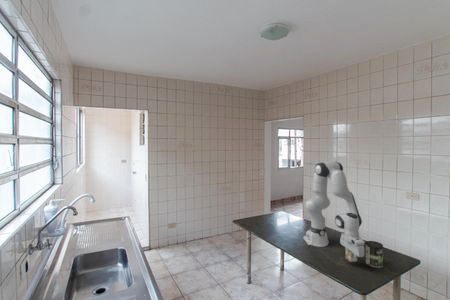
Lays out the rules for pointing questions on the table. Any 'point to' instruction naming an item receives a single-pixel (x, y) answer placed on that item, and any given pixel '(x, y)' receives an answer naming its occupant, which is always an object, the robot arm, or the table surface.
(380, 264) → the coffee can
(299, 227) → the table surface
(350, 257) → the beech block
